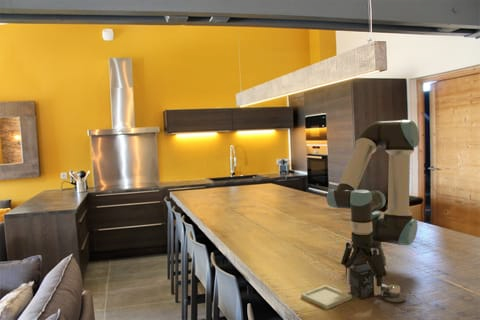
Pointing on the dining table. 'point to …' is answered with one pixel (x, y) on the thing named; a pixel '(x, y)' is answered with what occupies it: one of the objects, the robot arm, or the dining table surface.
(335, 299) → the tray
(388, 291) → the crank
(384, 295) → the crank base
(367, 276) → the box
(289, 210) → the dining table surface
